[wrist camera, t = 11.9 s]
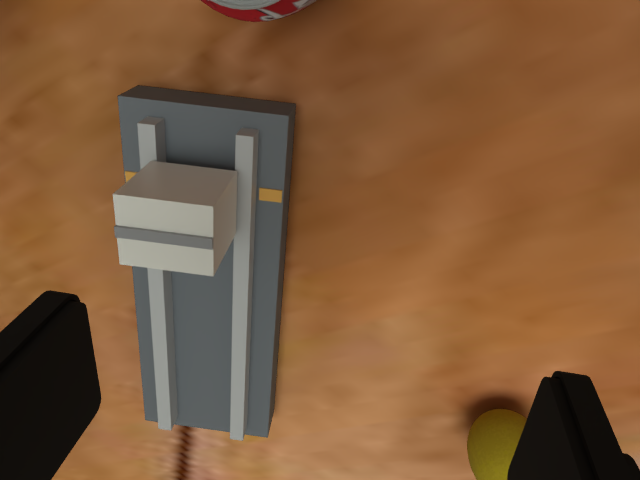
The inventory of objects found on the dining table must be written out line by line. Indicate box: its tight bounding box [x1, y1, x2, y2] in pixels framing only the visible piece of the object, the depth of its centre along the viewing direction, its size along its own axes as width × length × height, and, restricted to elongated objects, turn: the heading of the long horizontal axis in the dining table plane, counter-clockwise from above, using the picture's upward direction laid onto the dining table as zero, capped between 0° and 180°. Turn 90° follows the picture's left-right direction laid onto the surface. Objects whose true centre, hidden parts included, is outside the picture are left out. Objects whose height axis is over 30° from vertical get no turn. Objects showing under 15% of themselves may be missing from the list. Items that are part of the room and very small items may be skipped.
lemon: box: [467, 409, 527, 480], centre depth 39 cm, size 6×6×8 cm
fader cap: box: [113, 161, 237, 276], centre depth 30 cm, size 5×4×7 cm
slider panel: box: [118, 85, 296, 441], centre depth 37 cm, size 10×26×4 cm, turn 175°
